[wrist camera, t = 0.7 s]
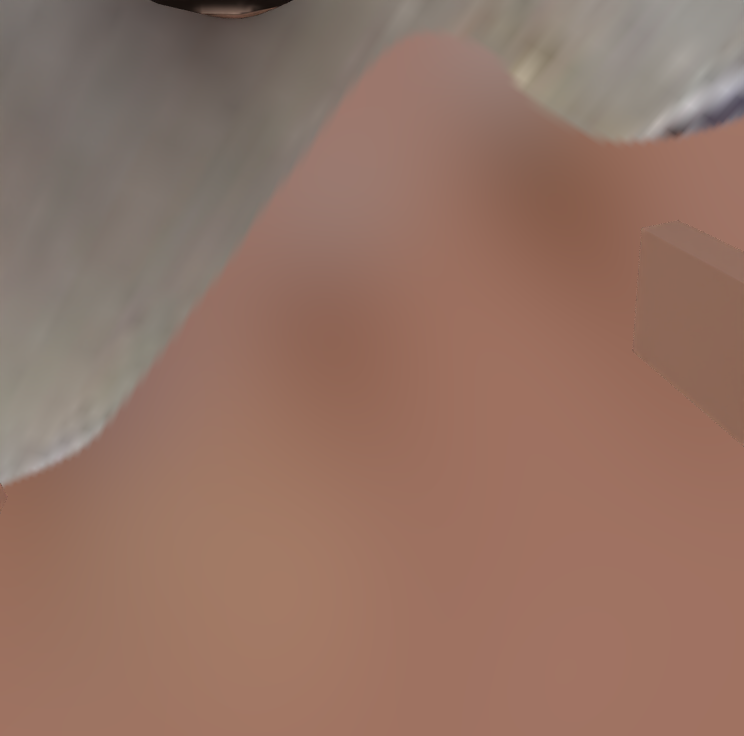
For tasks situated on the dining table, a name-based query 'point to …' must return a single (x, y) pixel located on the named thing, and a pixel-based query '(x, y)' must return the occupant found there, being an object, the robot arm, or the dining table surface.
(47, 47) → the dining table surface
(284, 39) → the dining table surface
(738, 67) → the dining table surface
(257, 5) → the spotted tube
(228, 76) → the dining table surface
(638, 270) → the robot arm
